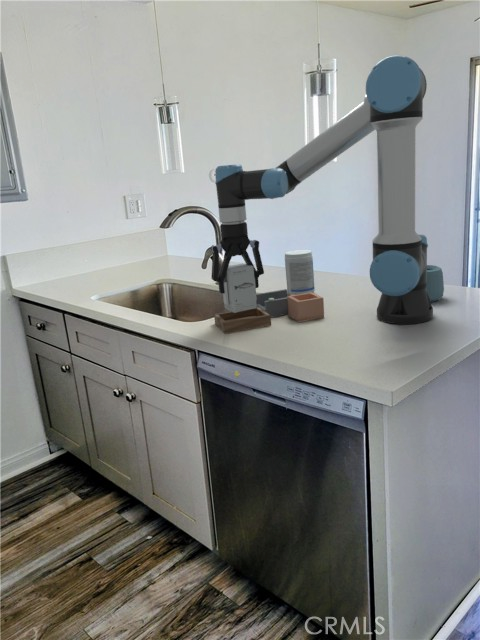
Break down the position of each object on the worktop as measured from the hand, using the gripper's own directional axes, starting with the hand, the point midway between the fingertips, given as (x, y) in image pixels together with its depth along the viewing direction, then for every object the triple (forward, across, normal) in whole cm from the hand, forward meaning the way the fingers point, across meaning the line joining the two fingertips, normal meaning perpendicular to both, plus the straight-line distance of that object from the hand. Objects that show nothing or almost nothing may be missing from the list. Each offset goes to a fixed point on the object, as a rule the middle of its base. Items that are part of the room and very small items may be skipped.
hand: (240, 301), depth 152 cm
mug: (+7, -58, +5) cm, 59 cm away
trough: (+7, 0, 0) cm, 7 cm away
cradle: (+7, -14, -8) cm, 18 cm away
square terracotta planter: (+7, -19, +3) cm, 21 cm away
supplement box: (+2, 0, 0) cm, 2 cm away
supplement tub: (+7, -29, -24) cm, 38 cm away
